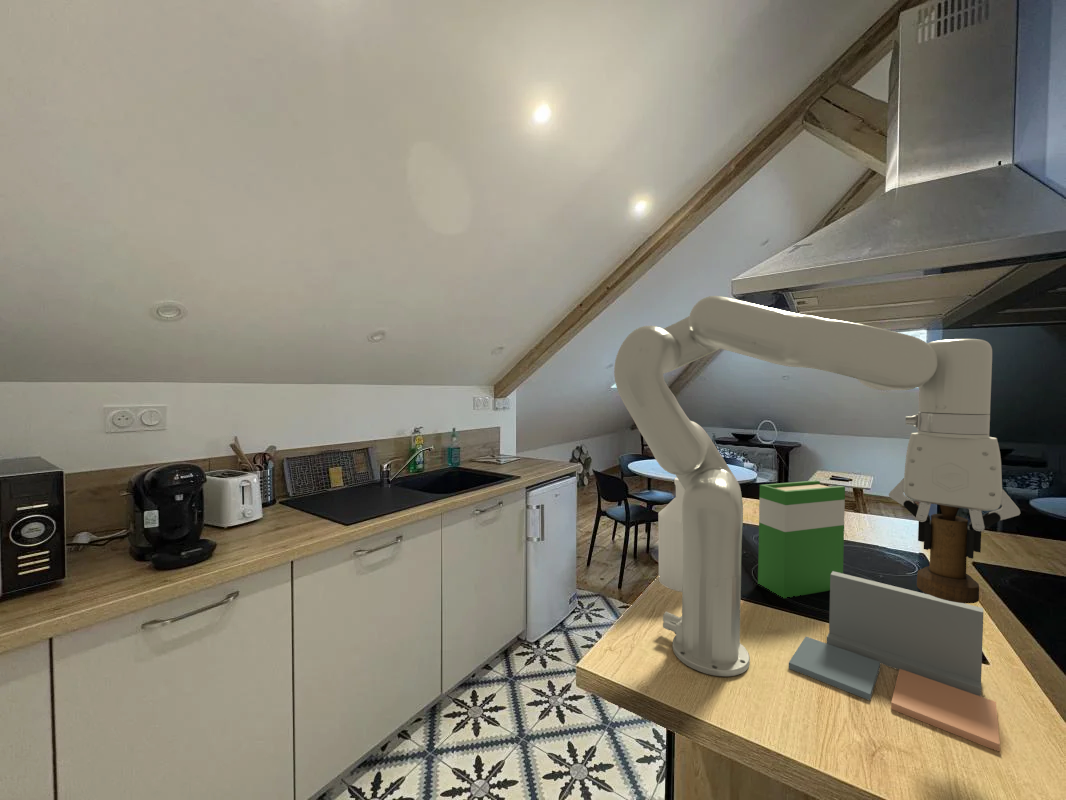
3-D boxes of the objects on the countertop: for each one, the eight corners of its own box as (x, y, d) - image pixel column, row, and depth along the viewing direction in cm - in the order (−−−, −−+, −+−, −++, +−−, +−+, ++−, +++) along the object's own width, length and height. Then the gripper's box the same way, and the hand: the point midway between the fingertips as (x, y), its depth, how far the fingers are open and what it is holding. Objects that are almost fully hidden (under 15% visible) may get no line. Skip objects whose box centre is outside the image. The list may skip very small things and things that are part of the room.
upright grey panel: (826, 644, 82) (828, 577, 81) (833, 632, 86) (835, 568, 86) (981, 698, 68) (983, 617, 67) (980, 679, 72) (982, 603, 72)
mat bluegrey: (788, 668, 75) (788, 662, 75) (805, 641, 83) (805, 636, 83) (869, 700, 67) (870, 694, 67) (880, 667, 75) (880, 662, 75)
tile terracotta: (891, 709, 65) (891, 702, 65) (899, 674, 73) (899, 668, 73) (999, 752, 58) (999, 744, 58) (995, 708, 66) (995, 701, 66)
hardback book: (814, 575, 112) (816, 480, 111) (842, 588, 105) (845, 486, 104) (757, 584, 107) (759, 484, 106) (783, 598, 100) (785, 491, 99)
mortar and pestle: (913, 591, 65) (916, 469, 65) (920, 579, 70) (924, 464, 69) (976, 608, 60) (981, 476, 60) (980, 594, 65) (985, 470, 64)
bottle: (684, 597, 100) (686, 486, 99) (647, 577, 110) (648, 477, 110) (720, 586, 106) (721, 481, 105) (681, 568, 116) (682, 472, 115)
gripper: (876, 423, 67) (872, 543, 68) (1043, 432, 56) (1037, 576, 56) (882, 421, 73) (879, 532, 73) (1036, 428, 61) (1031, 560, 62)
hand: (948, 550), depth 65 cm, fingers closed on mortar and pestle, 3 cm apart
